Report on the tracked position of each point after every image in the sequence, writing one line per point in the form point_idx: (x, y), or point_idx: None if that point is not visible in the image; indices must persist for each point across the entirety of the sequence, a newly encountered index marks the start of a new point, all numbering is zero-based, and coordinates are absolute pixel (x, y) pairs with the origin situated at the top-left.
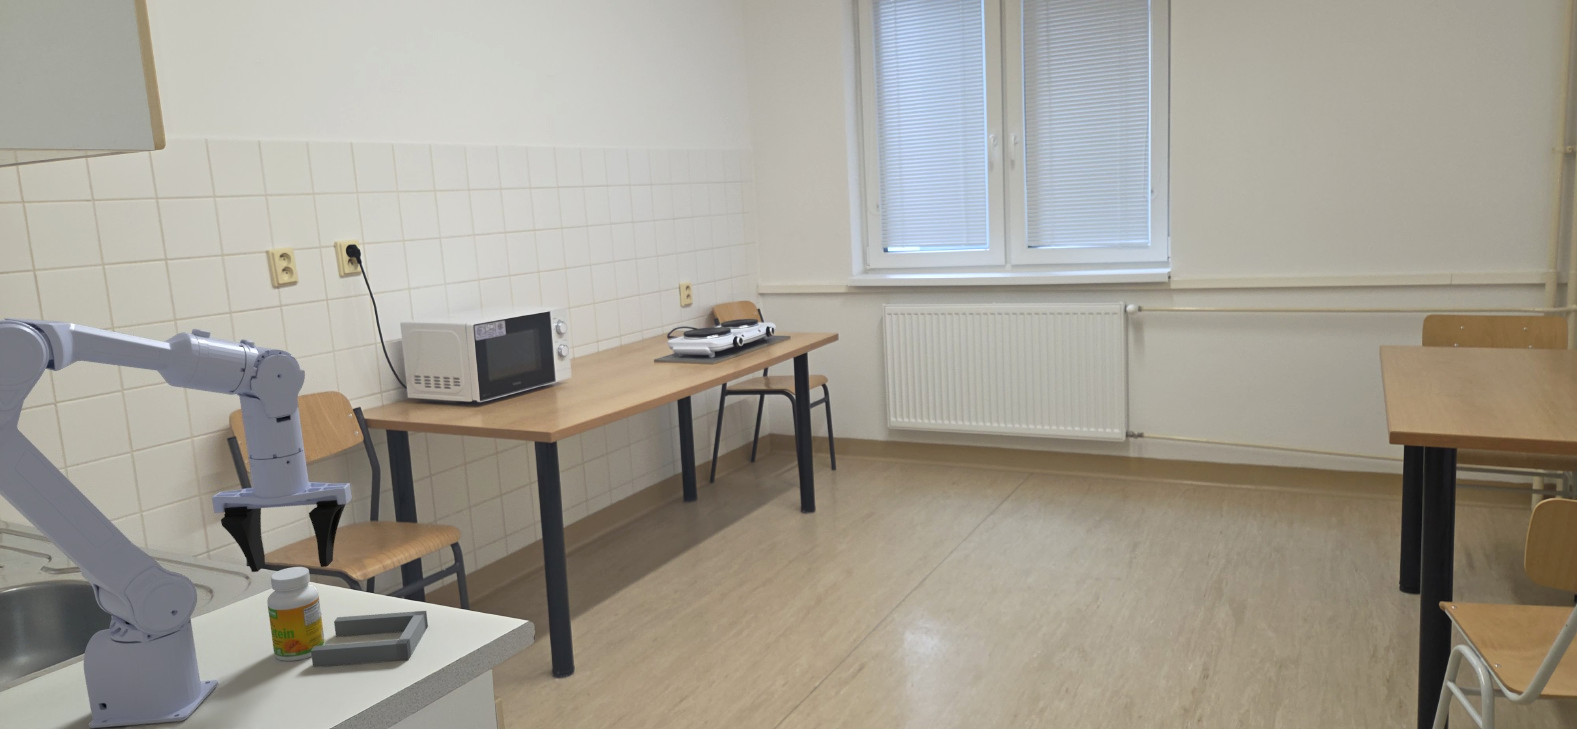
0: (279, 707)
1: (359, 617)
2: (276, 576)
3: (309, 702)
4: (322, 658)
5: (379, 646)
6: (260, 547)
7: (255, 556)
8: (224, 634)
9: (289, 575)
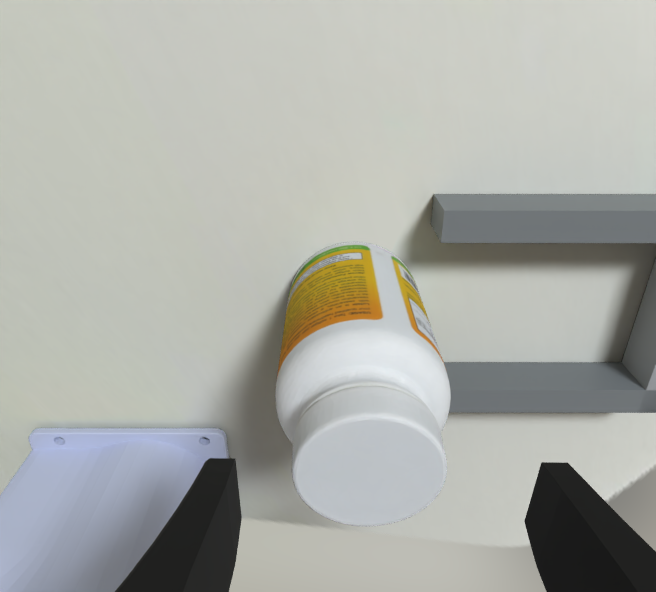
0: None
1: (521, 225)
2: (321, 495)
3: (447, 505)
4: None
5: (594, 409)
6: (209, 552)
7: (225, 585)
8: (45, 134)
9: (377, 496)
